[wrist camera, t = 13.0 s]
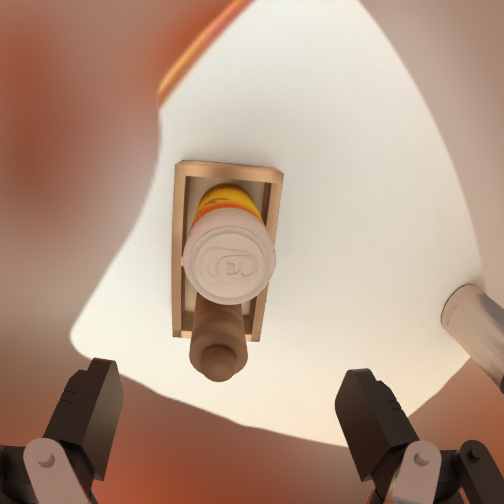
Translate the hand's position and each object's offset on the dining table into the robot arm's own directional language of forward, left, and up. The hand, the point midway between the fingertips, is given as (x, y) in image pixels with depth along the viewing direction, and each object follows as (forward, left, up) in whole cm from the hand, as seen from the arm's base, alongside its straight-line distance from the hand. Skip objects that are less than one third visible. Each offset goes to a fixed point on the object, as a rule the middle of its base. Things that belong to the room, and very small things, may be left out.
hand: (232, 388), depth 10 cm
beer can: (0, 0, -25) cm, 25 cm away
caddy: (0, +4, -26) cm, 26 cm away
